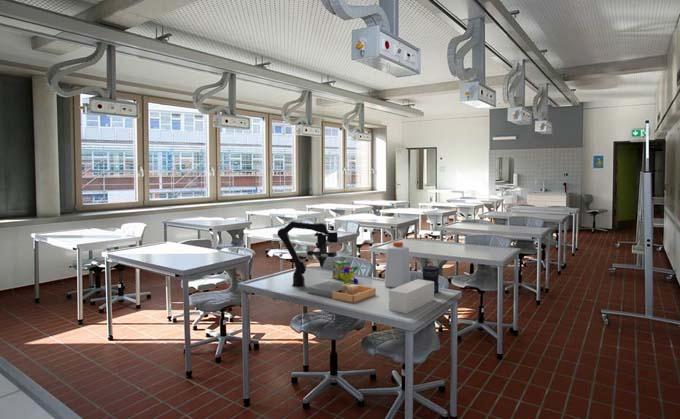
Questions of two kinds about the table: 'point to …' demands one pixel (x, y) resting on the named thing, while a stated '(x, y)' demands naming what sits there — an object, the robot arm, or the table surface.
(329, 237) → the robot arm
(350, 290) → the beech block
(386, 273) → the plastic bottle
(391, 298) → the long white block
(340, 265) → the chalk box
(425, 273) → the storage jar
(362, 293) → the box
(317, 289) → the slate plate
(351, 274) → the molecular model
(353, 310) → the table surface
